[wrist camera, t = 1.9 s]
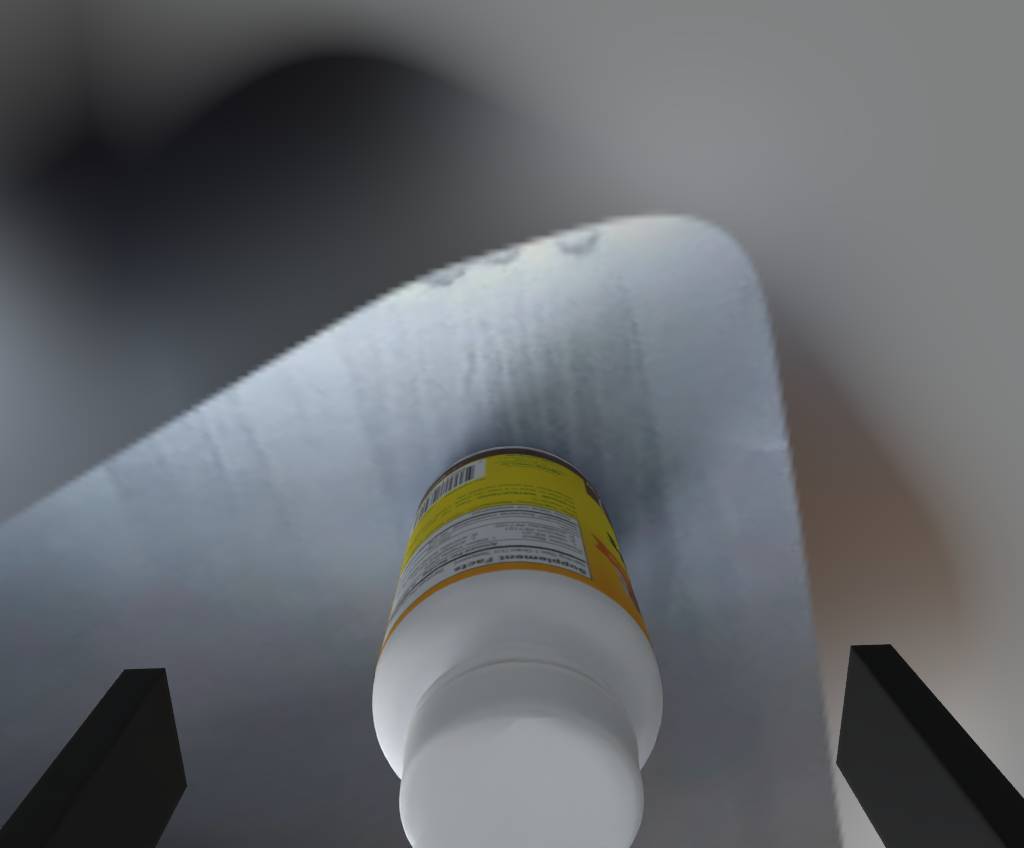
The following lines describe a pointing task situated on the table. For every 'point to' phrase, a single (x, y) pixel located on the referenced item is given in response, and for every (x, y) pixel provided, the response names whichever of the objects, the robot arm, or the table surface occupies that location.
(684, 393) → the table surface
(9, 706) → the table surface
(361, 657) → the table surface
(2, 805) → the table surface
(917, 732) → the robot arm
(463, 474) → the supplement bottle
